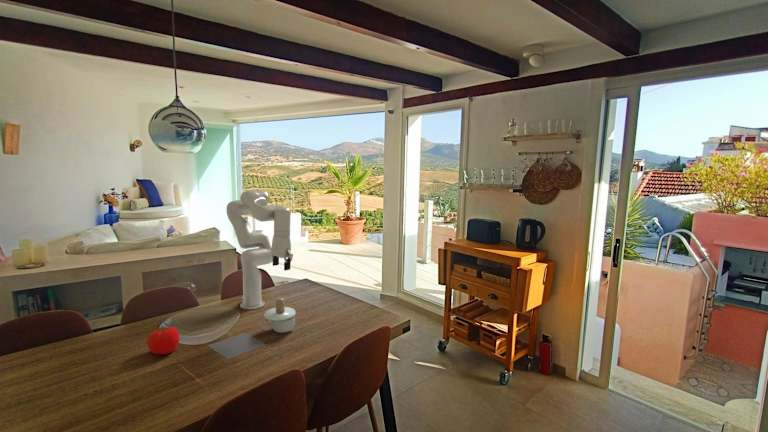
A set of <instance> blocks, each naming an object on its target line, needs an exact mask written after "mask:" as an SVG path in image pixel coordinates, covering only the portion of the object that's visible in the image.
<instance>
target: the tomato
mask: <svg viewBox="0 0 768 432" xmlns="http://www.w3.org/2000/svg"><path fill="white" fill-rule="evenodd" d="M179 343H180V333H179V331H178V329H177V327H175V326H173V325H172V326H161V327H157V328H156V329H154V330H153V331H152V332H150V333H149V335H148V336H147V339H146V346H147V347H148V350H150V351H151V352H152V353H153V354H155V355H167V354H169V353H172V352H174V351H175V350H176V349H177V347H178V346H179Z"/></svg>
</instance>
